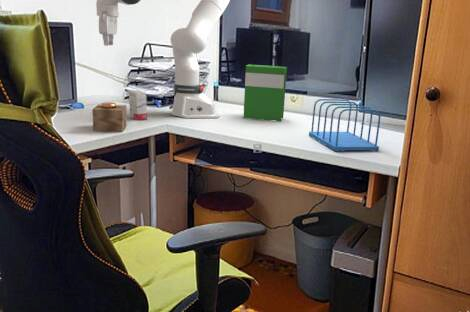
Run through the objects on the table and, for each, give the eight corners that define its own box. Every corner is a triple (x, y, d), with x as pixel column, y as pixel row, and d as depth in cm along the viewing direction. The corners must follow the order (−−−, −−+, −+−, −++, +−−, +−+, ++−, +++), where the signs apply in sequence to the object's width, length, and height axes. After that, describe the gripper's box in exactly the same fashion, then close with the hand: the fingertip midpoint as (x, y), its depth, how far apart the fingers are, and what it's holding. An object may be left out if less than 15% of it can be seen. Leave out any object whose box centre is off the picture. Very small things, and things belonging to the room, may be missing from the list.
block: (126, 125, 192) (126, 105, 190) (122, 132, 181) (122, 110, 179) (99, 125, 191) (98, 104, 189) (93, 131, 181) (92, 109, 178)
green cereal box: (283, 118, 223) (286, 67, 217) (280, 121, 216) (284, 68, 210) (246, 115, 227) (249, 64, 220) (243, 117, 220) (246, 65, 213)
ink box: (147, 119, 206) (147, 92, 203) (136, 120, 203) (136, 93, 200) (139, 116, 213) (139, 89, 210) (128, 116, 210) (128, 90, 207)
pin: (117, 126, 189) (116, 102, 186) (114, 129, 184) (114, 105, 181) (103, 125, 188) (102, 102, 186) (100, 128, 183) (99, 104, 181)
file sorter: (378, 151, 171) (384, 109, 167) (334, 152, 167) (339, 109, 163) (348, 135, 194) (352, 98, 190) (308, 136, 190) (311, 98, 186)
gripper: (110, 10, 190) (111, 46, 194) (119, 13, 210) (120, 45, 213) (94, 10, 190) (95, 45, 193) (104, 12, 210) (105, 44, 213)
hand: (108, 45), depth 204 cm, fingers open, 8 cm apart
